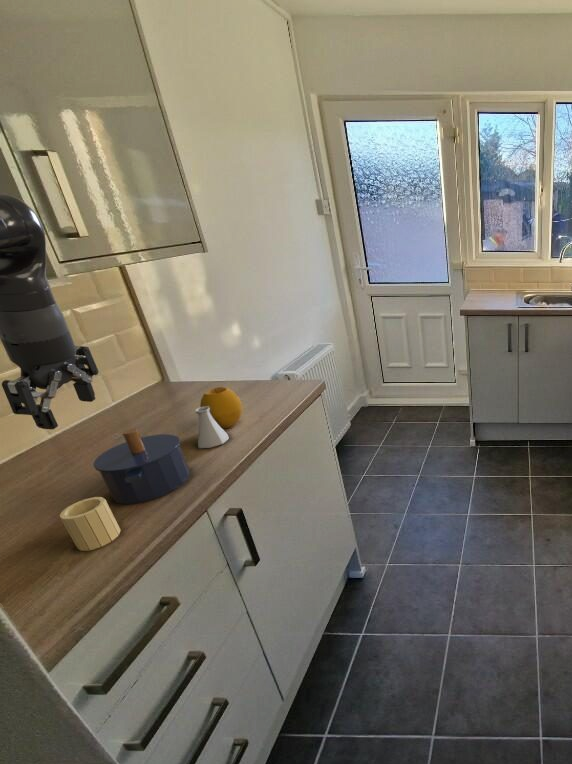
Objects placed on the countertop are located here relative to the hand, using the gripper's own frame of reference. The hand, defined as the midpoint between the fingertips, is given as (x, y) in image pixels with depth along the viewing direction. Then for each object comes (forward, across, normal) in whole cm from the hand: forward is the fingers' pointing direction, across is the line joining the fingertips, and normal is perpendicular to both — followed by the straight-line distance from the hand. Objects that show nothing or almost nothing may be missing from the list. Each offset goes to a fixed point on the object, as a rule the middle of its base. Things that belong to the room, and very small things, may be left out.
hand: (69, 413), depth 74 cm
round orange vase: (+29, -36, +6) cm, 47 cm away
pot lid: (+17, -10, +1) cm, 20 cm away
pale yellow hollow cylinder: (+23, +8, +4) cm, 25 cm away
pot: (+26, -9, +3) cm, 27 cm away
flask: (+28, -27, +7) cm, 39 cm away
